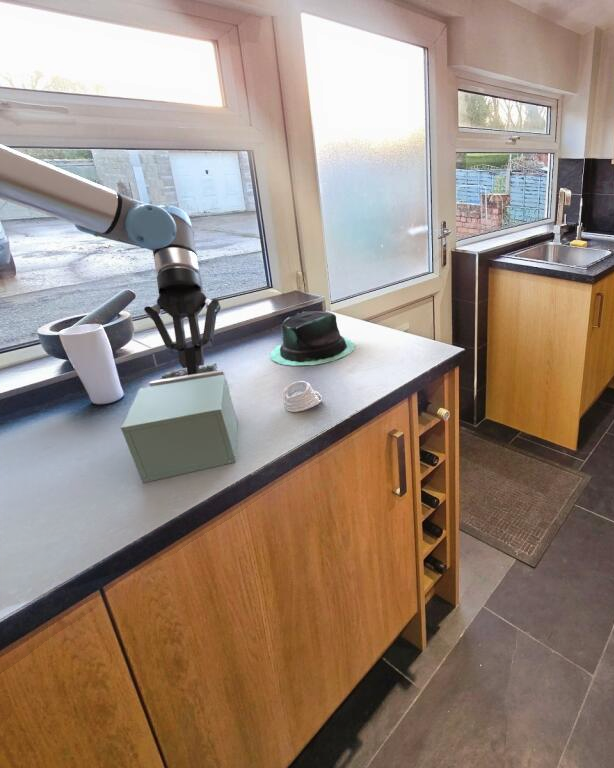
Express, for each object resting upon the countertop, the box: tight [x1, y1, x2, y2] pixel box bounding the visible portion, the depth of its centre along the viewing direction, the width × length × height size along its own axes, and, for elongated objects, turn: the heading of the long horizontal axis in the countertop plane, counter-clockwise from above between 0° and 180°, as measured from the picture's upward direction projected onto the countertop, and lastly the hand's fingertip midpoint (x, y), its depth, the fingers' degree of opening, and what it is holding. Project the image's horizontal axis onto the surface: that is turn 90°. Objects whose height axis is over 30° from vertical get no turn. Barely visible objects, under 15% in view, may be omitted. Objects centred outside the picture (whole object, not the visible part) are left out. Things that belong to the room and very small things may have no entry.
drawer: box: [148, 369, 235, 408], centre depth 87 cm, size 18×11×8 cm, turn 26°
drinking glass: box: [58, 323, 125, 405], centre depth 97 cm, size 7×7×15 cm
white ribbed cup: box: [281, 380, 324, 413], centre depth 96 cm, size 8×7×5 cm
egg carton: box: [158, 362, 218, 380], centre depth 104 cm, size 11×8×4 cm
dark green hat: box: [269, 310, 356, 367], centre depth 124 cm, size 15×19×20 cm
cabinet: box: [120, 374, 239, 484], centre depth 81 cm, size 15×13×10 cm
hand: (194, 380), depth 94 cm, fingers closed
